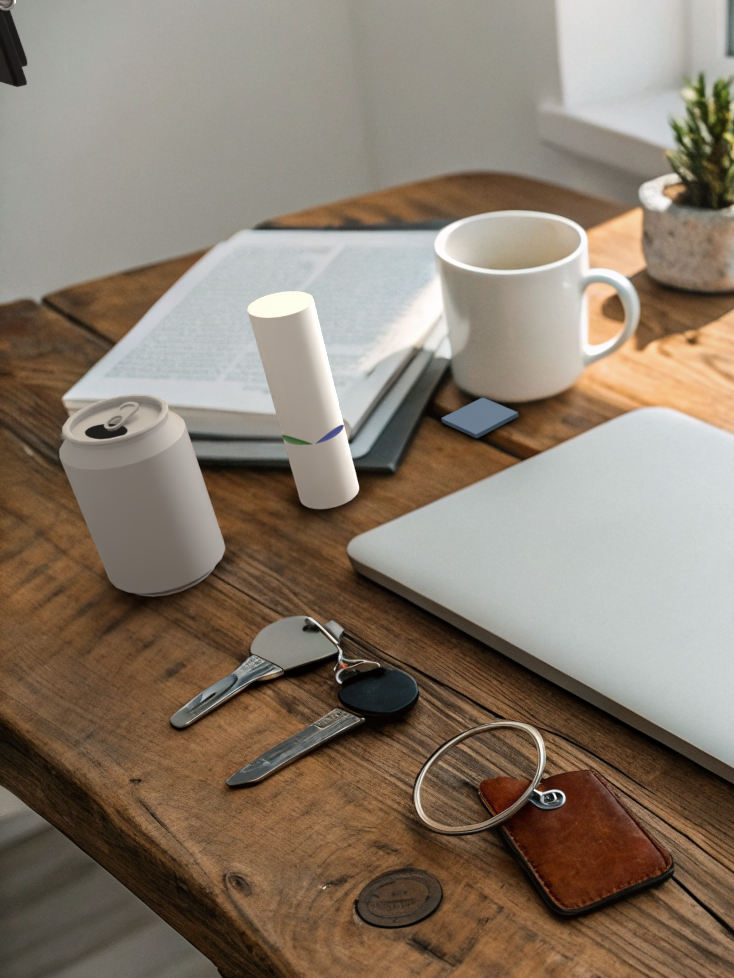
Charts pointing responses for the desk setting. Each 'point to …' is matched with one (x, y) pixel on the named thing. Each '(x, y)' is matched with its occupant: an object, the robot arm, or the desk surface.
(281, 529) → the desk surface
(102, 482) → the can
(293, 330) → the tube
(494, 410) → the tile
